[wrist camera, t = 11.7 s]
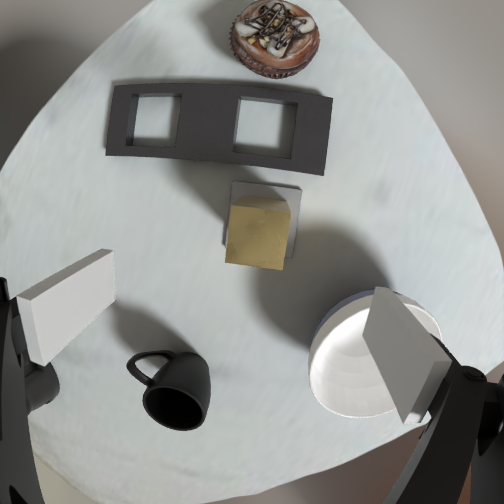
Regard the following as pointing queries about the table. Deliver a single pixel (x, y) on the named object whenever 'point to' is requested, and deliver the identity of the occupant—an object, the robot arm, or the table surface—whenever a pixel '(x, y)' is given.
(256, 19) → the cupcake
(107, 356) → the table surface
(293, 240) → the pad
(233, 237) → the tan wooden peg
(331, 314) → the bowl
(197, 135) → the dark grey peg board
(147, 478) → the table surface
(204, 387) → the mug
